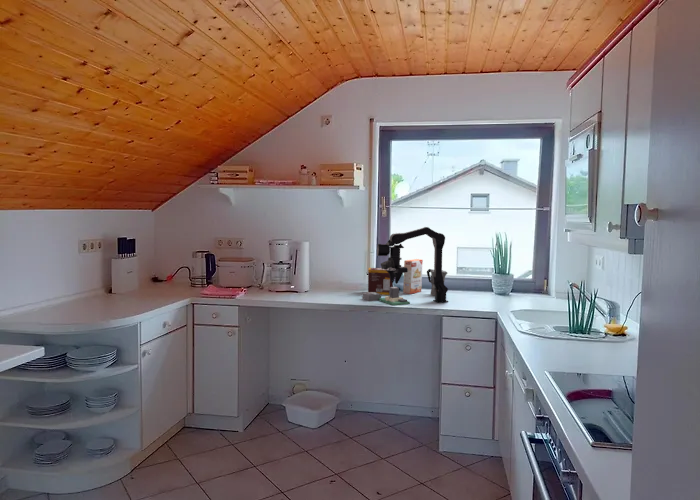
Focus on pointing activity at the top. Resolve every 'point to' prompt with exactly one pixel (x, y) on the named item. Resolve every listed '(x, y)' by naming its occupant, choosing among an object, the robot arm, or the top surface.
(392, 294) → the plug
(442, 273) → the coffeepot
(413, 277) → the cracker box
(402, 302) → the board
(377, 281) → the supplement box
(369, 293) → the speaker
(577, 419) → the top surface
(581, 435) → the top surface
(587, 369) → the top surface
